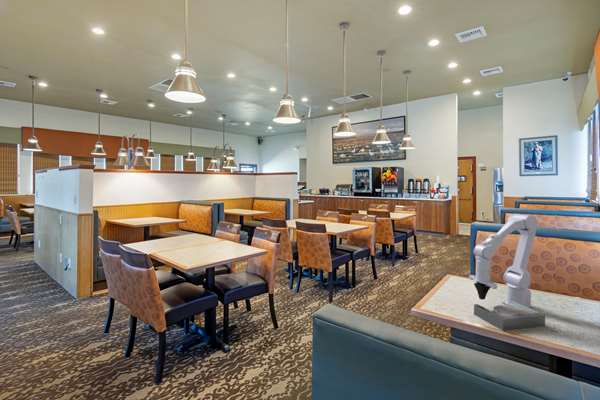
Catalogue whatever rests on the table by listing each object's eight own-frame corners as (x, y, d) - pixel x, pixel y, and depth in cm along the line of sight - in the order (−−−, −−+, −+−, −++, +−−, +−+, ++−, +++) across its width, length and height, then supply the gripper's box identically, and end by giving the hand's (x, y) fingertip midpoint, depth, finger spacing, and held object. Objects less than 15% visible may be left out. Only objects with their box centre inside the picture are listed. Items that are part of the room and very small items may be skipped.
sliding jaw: (512, 310, 142) (512, 301, 142) (539, 322, 129) (539, 312, 129) (508, 310, 142) (508, 301, 141) (534, 323, 129) (535, 313, 129)
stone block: (510, 328, 129) (531, 322, 130) (508, 317, 129) (529, 311, 130) (489, 317, 141) (509, 311, 142) (488, 307, 141) (507, 301, 142)
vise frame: (512, 310, 142) (512, 301, 142) (544, 325, 127) (545, 315, 127) (473, 314, 138) (474, 304, 138) (502, 330, 123) (503, 319, 123)
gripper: (464, 266, 150) (463, 294, 151) (487, 275, 136) (486, 305, 137) (476, 265, 151) (476, 292, 152) (501, 274, 137) (500, 304, 138)
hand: (482, 298), depth 144 cm, fingers closed
